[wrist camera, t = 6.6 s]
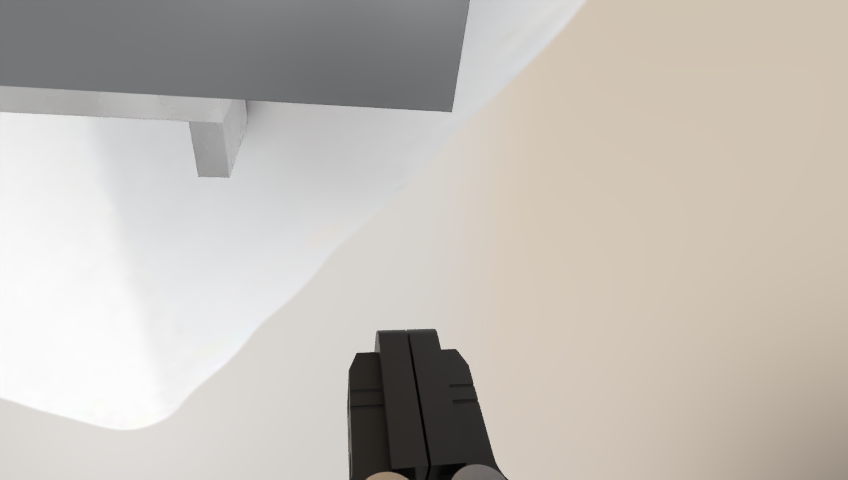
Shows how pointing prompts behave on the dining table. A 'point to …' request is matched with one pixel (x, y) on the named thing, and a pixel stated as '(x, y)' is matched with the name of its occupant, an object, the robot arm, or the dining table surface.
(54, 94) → the battery door
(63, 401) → the dining table surface
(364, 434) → the robot arm
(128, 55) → the camera housing
